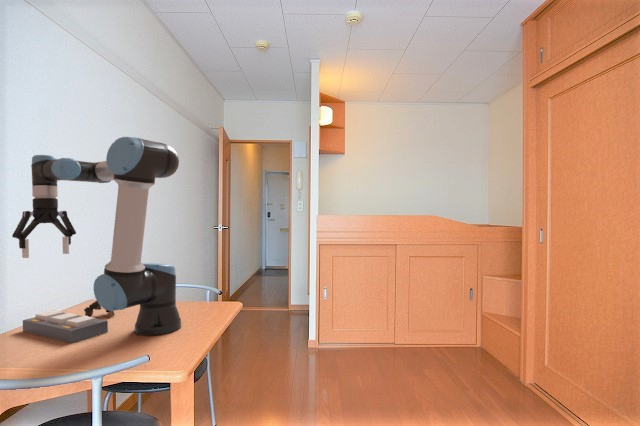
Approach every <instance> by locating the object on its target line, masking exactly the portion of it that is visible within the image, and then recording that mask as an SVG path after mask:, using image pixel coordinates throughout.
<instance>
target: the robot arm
mask: <svg viewBox="0 0 640 426" xmlns="http://www.w3.org/2000/svg"><path fill="white" fill-rule="evenodd" d="M179 158H180V157H179V155H178V153H177V152H176V150H175V149H174V148H173V147H171V146H170V145H168V144H166V143H162V142H157V141H152V140H148V139H144V138H143V139H142V138H141V137H136V136H135V137H130V136H122V137H118V138H116V140H114V142H112V143H111V145H110V147H108V149H107V154H106V159H105V160H103V161H97V162H96V161H95V162H93V161H92V162H91V161H81V160H75V159H74V158H72V157H66V158H65V157H61V158H57V157H56V156H54V155H49V154H48V155H47V154H36V155H33V156H32V157H31V165H30V167H31V184H32V185H31V190H32V192H31V194H32V195H31V196H32V197H34V198H32V211H31V210H24V211H23V212H22V213H21V214H22V216H21V219H20V221H19V222H18V224H17V226H16V228H15V229H14V231H13V233H12V235H11V237H12V238H15V239H18V246H19V247H18V248H19V249H20V250H21V258H23V259H30V252H29V251H30V250H29V248H30V247H29V245H30V244H29V238H27V237H29V235H30V234H32V232H33V231H34V230H35V228H36V227H38V225H39V224H53V225H54V226H55V227H56V228H57V229H58V231H60V232H61V234H62V235H63V236H62V237H61V238H62V254H63V255H68V254H70V245H71V243H72V241H71V240H72V237H73V235H76V234H77V232H76V230H75V228H74V226H73V223H72V222H71V221H70V218H69V216H68V212H67V211H66V210H60V211H59V210H58V208H59V200H58V198H57V197H59V196H58V194H59V191H58V181H69V182H70V181H71V182H86V183H98V184H107V183H108V184H109V183H110V182H111V181H114V182H115V183H116V184H117V185H118V187H117V198H116V204H115V205H116V206H115V207H116V208H115V217H114V225H113V226H114V228H113V235H112V247H111V254H110V261H108V263H106V264H105V265H104V270H103V274H100V275H99V276H97V277H96V278H95V280H94V283H93V294H94V297H95V300H96V301H98V303H99V305H100V306H101V308H102V309H104V310H105V311H106V310H108V311H113V312H115V311H121V310H125V309H127V308H128V309H129V308H132V307H135V306H139V311H138V314H137V317H136V322H135V323H134V333H135V334H136V335H141V336H158V335H159V336H160V335H165V334H169V333H172V332H176V331H178V330H179V329H181V328H182V319H181V317H180V313H179V311H178V307H177V298H176V297H177V296H176V295H177V291H176V289H177V286H176V285H177V274H176V268H175V266H174V265H173V264H169V263H152V262H149V263H142V253H143V245H144V236H145V225H146V218H147V209H148V199H149V198H148V197H149V191H150V189H151V188H152V186H154V185H155V183H156V179H164V178H165V179H166V178H169V177H171V176H173V175H175V173H176V172H177V170H178V168H179V164H180V159H179ZM31 217H33V219H32V220H31V221H30V218H31ZM58 217H60V219H61V220H60V219H59V218H58ZM29 221H30V223H29V225H28V226H27V224H28V222H29ZM61 221H62V222H61ZM26 226H27V227H26Z"/></svg>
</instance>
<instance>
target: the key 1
mask: <svg viewBox="0 0 640 426" xmlns="http://www.w3.org/2000/svg"><path fill="white" fill-rule="evenodd" d="M64 313H65V312H64V311H59V310H50V311H43V312H40V313H37V314H36V313H35V317H36V319H38V320H43V321H47V320H51V318H50V317H54V316H58V315H62V314H64Z"/></svg>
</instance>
